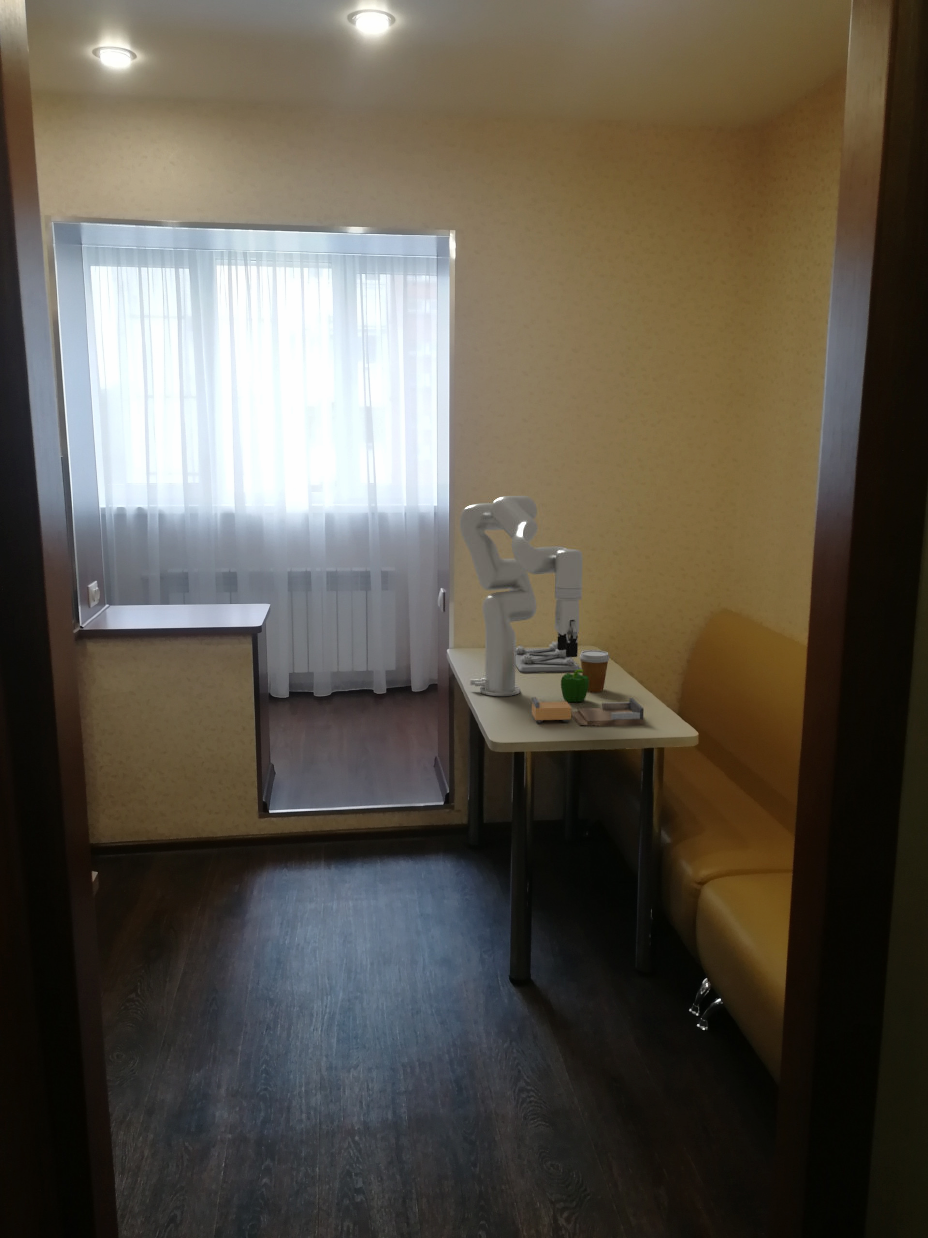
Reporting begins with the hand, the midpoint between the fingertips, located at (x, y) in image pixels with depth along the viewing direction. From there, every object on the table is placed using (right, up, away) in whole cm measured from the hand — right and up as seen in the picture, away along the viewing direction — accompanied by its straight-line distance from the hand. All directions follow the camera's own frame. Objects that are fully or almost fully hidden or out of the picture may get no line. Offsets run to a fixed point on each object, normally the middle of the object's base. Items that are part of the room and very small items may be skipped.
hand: (567, 653), depth 265 cm
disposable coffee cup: (+12, -13, +33) cm, 37 cm away
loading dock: (+11, -19, +1) cm, 22 cm away
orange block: (-5, -19, -1) cm, 20 cm away
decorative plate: (-1, -7, +69) cm, 69 cm away
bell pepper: (+4, -15, +20) cm, 25 cm away
